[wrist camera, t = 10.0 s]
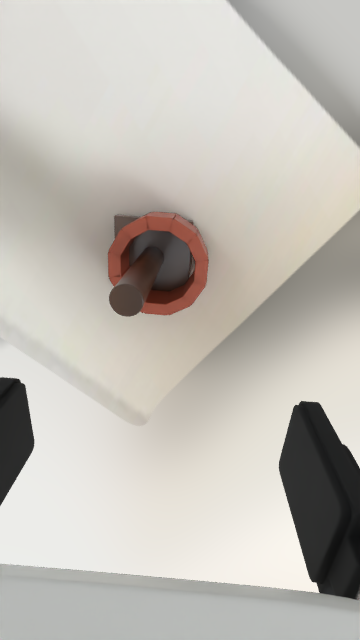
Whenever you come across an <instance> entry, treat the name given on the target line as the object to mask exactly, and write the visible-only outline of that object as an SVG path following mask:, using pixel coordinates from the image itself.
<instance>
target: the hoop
mask: <svg viewBox="0 0 360 640" xmlns="http://www.w3.org/2000/svg"><path fill="white" fill-rule="evenodd" d="M148 230H156V231H169V232H171V233H172V234H174V235H175V236H177V237H178V238H179V239H181V240H182V241H184V242H185V243H187V245H188V247H189V249H190V251H191V253H192V256H193V258H194V260H195V271H194V272H193V273H192V275H191V276H190V278H189V279H188V280H187V282H186V283H185V285H183V286H180V287H178V288H176V289H174V290H172V291H169V292H168V291H156V290H150V292H149V294H148V297H147V299H146V301H145V303H144V305H143V308H142V309H141V311H140V312H142V313H143V312H144V313H145V314H157V315H171V314H173V313H175V312H178V311H180V310H182V309H184V308H187V307H189V306H190V305H192V304H193V302H194V301H195V300H196V298H197V297H198V296H199V294H200V293H201V292H202V290H203V289H204V288H205V285H206V281H207V271H208V261H209V260H208V252H207V248H206V246H205V244H204V241H203V239H202V237H201V235H200V233H199V230H198V229H197V227H195V226H194V225H192V224H191V223H189V222H188V221H187V220H185V219H184V218H182V217H181V216H180V215H178V214H177V215H176V213H163V212H152V213H151V212H150V213H148V214H146V215H144V216H142V217H140V218H139V219H137V220H135V221H133V222H131V223H129V224H128V225H126V226H125V227H123V228H122V229H121V230H120V231H119V233H118V235H117V237H116V238H115V240H114V242H113V244H112V245H111V247H110V249H109V252H108V272H109V277H110V278H109V279H110V281H111V283H112V284H113V286H114V287H115V285H116V284H117V283H118V282H119V280H120V279H121V278H122V277H123V276H124V274H125V273H126V272H127V271H128V269H129V268H130V266H129V247H130V246H131V244H132V242H133V241H134V239H135V237H136V236H138V235H140V234H142V233H144V232H146V231H148Z"/></svg>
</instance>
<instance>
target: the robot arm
mask: <svg viewBox="0 0 360 640" xmlns="http://www.w3.org/2000/svg"><path fill="white" fill-rule="evenodd" d="M33 448H34V436H33V430H32V424H31V419H30V412H29V406H28V400H27V394H26V388H25V385H24V384H23V383H21V382H20V380H19V379H15V378H0V505H1V504H2V502H3V500H4V499H5V497H6V495H7V493H8V492H9V490H10V488H11V487H12V485H13V483H14V482H15V480H16V478H17V476H18V475H19V473H20V471H21V470H22V468H23V466H24V465H25V463H26V461H27V460H28V458H29V456H30V454H31V453H32V451H33ZM279 471H280V475H281V479H282V482H283V486H284V489H285V493H286V496H287V500H288V503H289V507H290V511H291V514H292V517H293V521H294V524H295V528H296V532H297V535H298V538H299V542H300V546H301V549H302V553H303V556H304V559H305V563H306V567H307V570H308V574H309V577H310V579H311V581H312V582H317V586H318V589H319V592H320V593H313V592H305V591H296V590H287V589H277V588H270V587H260V586H250V585H238V584H227V583H217V582H205V581H195V580H184V579H174V578H162V577H151V576H140V575H127V574H117V573H105V572H93V571H82V570H70V569H57V568H45V567H33V566H20V565H7V564H0V640H360V468H359V466H358V464H357V463H356V461H355V459H354V457H353V455H352V454H351V452H350V450H349V449H348V448H347V446H345V445H343V444H342V443H341V441H340V440H339V438H338V436H337V434H336V432H335V430H334V429H333V427H332V425H331V423H330V421H329V419H328V418H327V416H326V414H325V412H324V410H323V408H322V407H321V405H320V404H319V403H318V402H306V401H301V402H300V403H299V405H295V406H294V408H293V412H292V415H291V420H290V423H289V427H288V431H287V434H286V438H285V442H284V446H283V449H282V453H281V457H280V461H279Z"/></svg>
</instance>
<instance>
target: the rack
mask: <svg viewBox="0 0 360 640" xmlns="http://www.w3.org/2000/svg"><path fill="white" fill-rule="evenodd" d="M140 217H141V216H128V215H115V216H114V219H115V238H116V237H117V235H118V233H119V231H120V230H121V229H122V228H123V227H125V226H126V225H128V224H129V223H131V222H133V221H135V220H137V219H139V218H140ZM187 221H188V222H189V223H191V224H192V225H193V220H187ZM190 258H191V251H190V249H189V247H188V245H187V243H185V242H184V241H182V240H181V239H179V238H178V237H177V236H175V235H174V234H172V233H171V232H169V231H156V230H148V231H146V232H144V233H142V234H140V235H138V236H136V237H135V239H134V241H133V242H132V244H131V246H130V247H129V266H130V268H129V269H128V271H127V272H126V273H125V274H124V276H123V277H122V278H121V279H120V280H119V282H118V283H117V284H116V285H115V287H114V288H113V289H112V291H111V292H110V296H109V301H110V305H111V307H112V308H113V310H114V311H115V312H116V313H118V314H120V315H122V316H134V315H136V314H137V313H139V312H140V311H141V309H142V308H143V305H144V303H145V301H146V299H147V297H148V294H149V292H150V290H156V291H168V292H169V291H172V290H174V289H176V288H178V287H180V286H183V285H185V283H186V282H187V280H188V279H189V271H190Z"/></svg>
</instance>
